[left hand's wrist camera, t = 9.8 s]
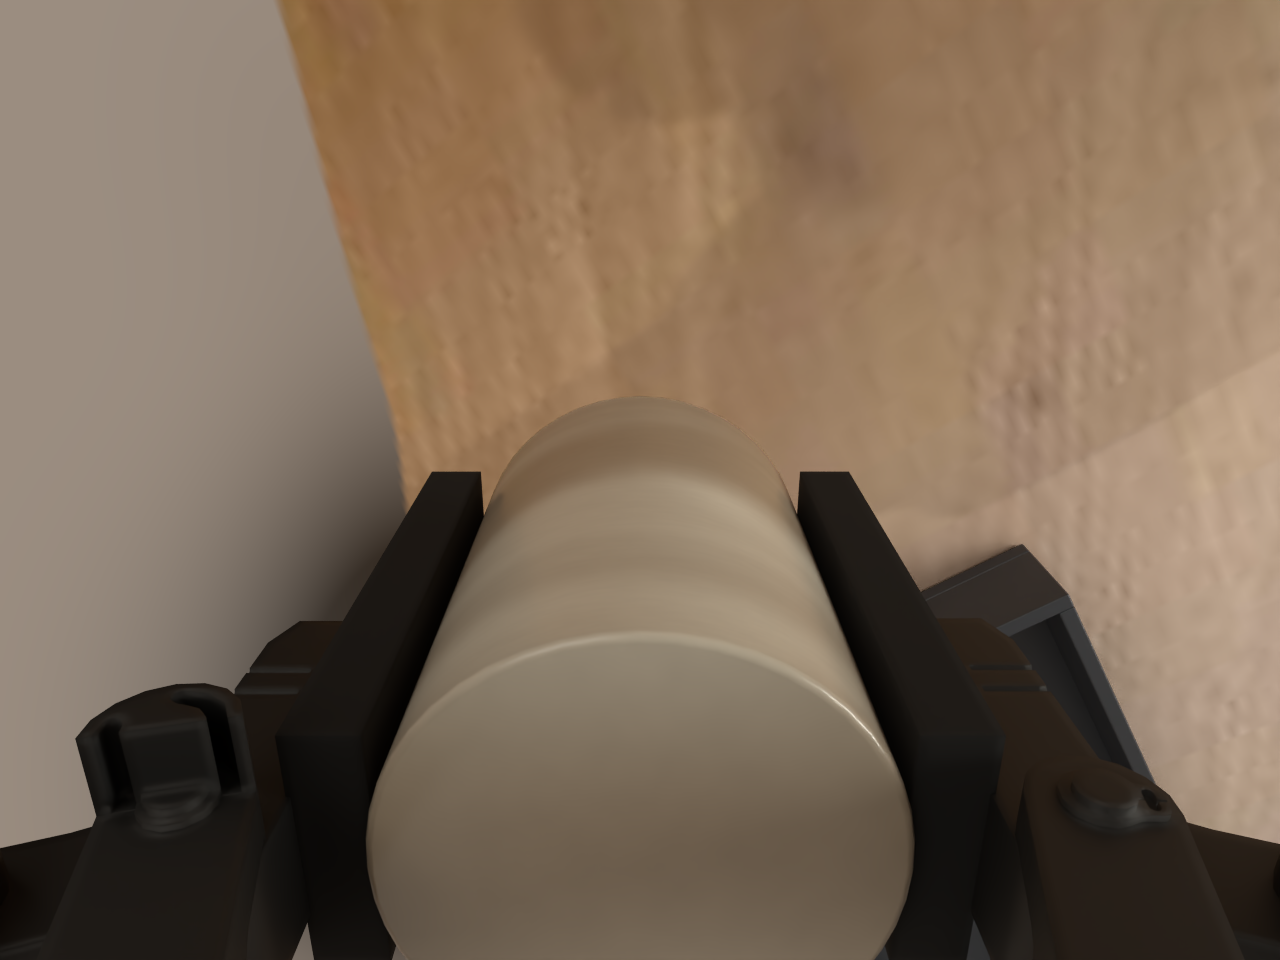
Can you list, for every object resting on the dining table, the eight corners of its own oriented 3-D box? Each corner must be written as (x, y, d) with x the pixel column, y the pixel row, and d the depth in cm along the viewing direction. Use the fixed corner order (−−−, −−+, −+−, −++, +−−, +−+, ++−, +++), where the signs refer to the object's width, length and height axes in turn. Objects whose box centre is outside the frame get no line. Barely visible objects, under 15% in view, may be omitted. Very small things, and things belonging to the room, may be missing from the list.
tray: (684, 705, 33) (699, 903, 25) (1022, 542, 31) (1166, 700, 22) (936, 1084, 40) (1014, 1336, 32) (1225, 976, 38) (1391, 1218, 30)
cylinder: (477, 394, 14) (329, 635, 7) (805, 394, 14) (950, 635, 7) (495, 675, 16) (391, 1066, 9) (785, 675, 16) (888, 1067, 9)
